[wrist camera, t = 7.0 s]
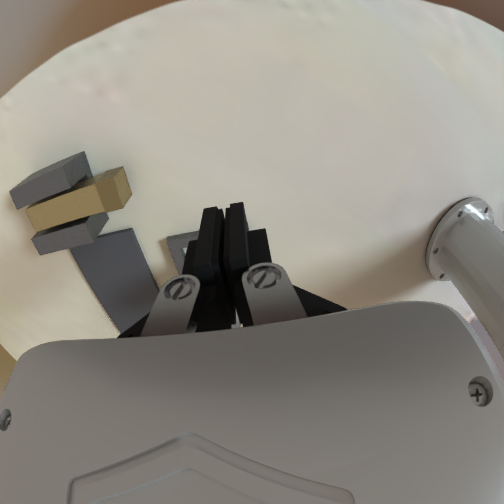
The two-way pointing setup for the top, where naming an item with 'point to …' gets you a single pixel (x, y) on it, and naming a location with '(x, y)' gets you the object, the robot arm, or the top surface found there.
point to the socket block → (51, 183)
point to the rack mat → (118, 276)
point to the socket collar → (181, 247)
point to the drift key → (81, 200)
